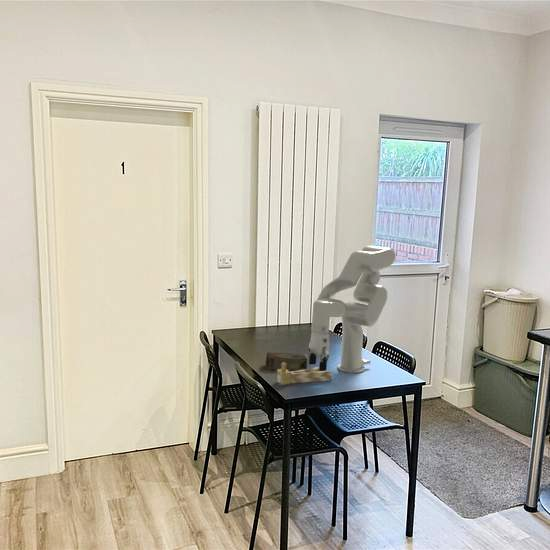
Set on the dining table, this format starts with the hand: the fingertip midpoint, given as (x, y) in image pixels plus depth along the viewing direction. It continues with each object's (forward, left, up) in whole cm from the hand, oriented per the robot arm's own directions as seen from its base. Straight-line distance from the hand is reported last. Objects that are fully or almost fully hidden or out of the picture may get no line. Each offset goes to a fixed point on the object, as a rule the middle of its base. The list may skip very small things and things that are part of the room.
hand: (317, 367), depth 239 cm
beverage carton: (+6, -20, -6) cm, 22 cm away
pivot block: (+16, 0, -6) cm, 17 cm away
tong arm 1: (+4, -3, -5) cm, 7 cm away
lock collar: (+16, 0, -6) cm, 17 cm away
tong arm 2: (+4, +2, -5) cm, 7 cm away
